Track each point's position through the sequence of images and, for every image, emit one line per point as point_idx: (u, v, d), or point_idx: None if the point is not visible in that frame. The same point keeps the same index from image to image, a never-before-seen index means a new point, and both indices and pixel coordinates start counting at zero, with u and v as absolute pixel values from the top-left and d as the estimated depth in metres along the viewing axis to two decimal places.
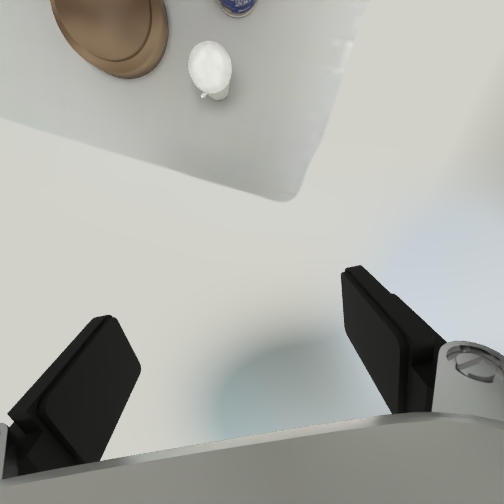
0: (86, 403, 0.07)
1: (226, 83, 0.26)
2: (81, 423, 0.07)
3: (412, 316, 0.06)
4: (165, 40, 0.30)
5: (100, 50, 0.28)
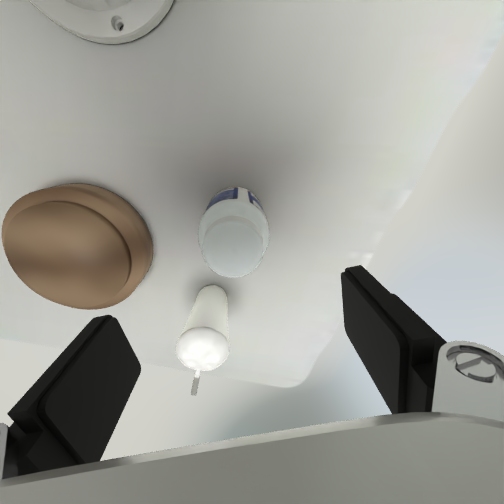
0: (86, 403, 0.07)
1: None
2: (81, 423, 0.07)
3: (412, 316, 0.06)
4: (149, 264, 0.25)
5: (69, 300, 0.23)
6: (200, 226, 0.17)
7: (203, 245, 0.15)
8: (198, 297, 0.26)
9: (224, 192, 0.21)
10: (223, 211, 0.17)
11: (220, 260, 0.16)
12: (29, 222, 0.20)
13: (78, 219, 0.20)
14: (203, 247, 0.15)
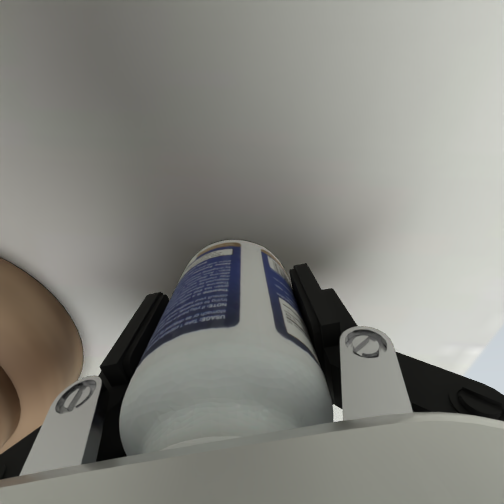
0: None
1: None
2: None
3: (329, 306, 0.07)
4: (74, 375, 0.14)
5: None
6: (121, 416, 0.05)
7: None
8: None
9: (209, 266, 0.09)
10: (190, 392, 0.05)
11: None
12: None
13: None
14: None
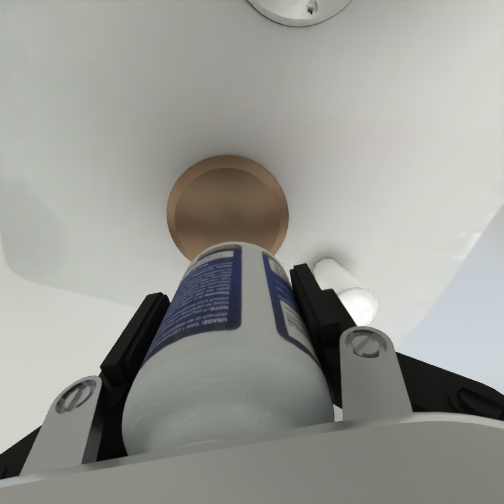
0: None
1: None
2: None
3: (329, 306, 0.07)
4: None
5: None
6: (124, 419, 0.06)
7: None
8: (321, 268, 0.28)
9: (210, 269, 0.09)
10: (193, 394, 0.05)
11: None
12: (204, 186, 0.22)
13: (248, 184, 0.22)
14: None
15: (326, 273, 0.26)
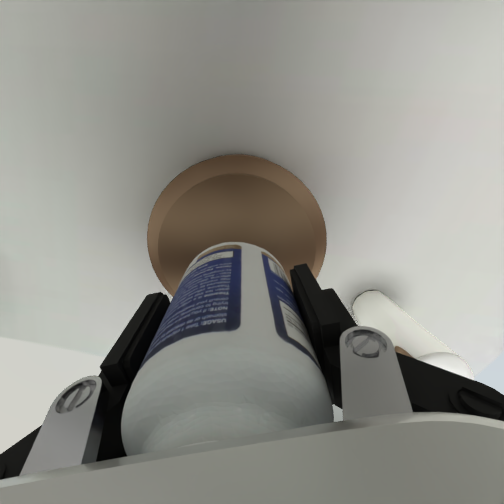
0: None
1: None
2: None
3: (329, 306, 0.07)
4: None
5: None
6: (123, 420, 0.06)
7: None
8: (367, 306, 0.20)
9: (209, 269, 0.09)
10: (192, 395, 0.05)
11: None
12: (201, 203, 0.14)
13: (269, 199, 0.14)
14: None
15: (378, 317, 0.19)
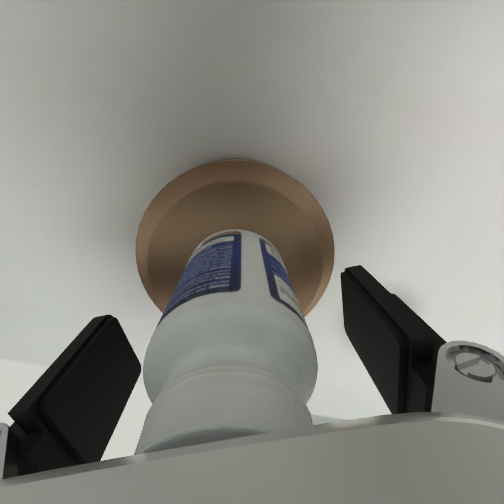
0: (86, 403, 0.07)
1: None
2: (81, 423, 0.07)
3: (412, 316, 0.06)
4: None
5: None
6: (146, 363, 0.07)
7: None
8: None
9: (213, 250, 0.10)
10: (202, 337, 0.06)
11: None
12: (195, 214, 0.13)
13: (271, 209, 0.13)
14: None
15: None
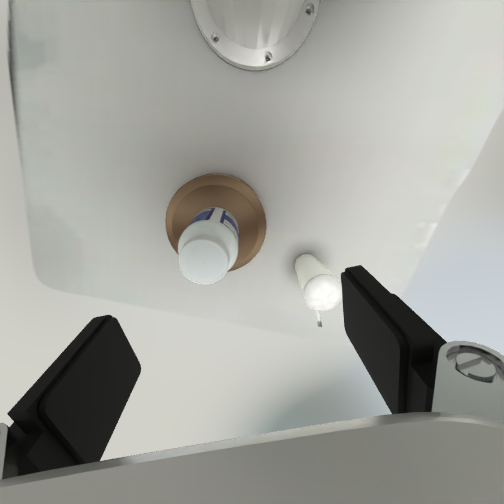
0: (86, 403, 0.07)
1: None
2: (81, 423, 0.07)
3: (412, 316, 0.06)
4: None
5: None
6: (179, 243, 0.21)
7: (179, 259, 0.19)
8: (300, 262, 0.33)
9: (202, 213, 0.24)
10: (196, 230, 0.20)
11: (194, 271, 0.19)
12: (194, 200, 0.27)
13: (229, 197, 0.27)
14: (179, 261, 0.19)
15: (303, 266, 0.31)
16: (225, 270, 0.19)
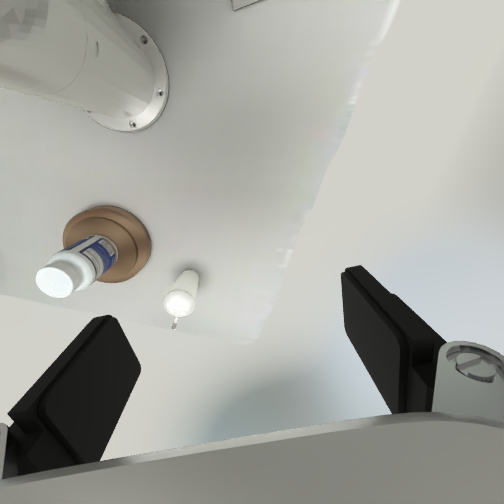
0: (86, 403, 0.07)
1: None
2: (81, 423, 0.07)
3: (412, 316, 0.06)
4: (148, 255, 0.40)
5: (100, 276, 0.38)
6: None
7: (36, 280, 0.27)
8: (179, 276, 0.41)
9: None
10: (56, 258, 0.29)
11: (48, 288, 0.28)
12: (80, 229, 0.35)
13: (108, 227, 0.35)
14: (36, 281, 0.27)
15: (177, 280, 0.39)
16: (71, 288, 0.28)
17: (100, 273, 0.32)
